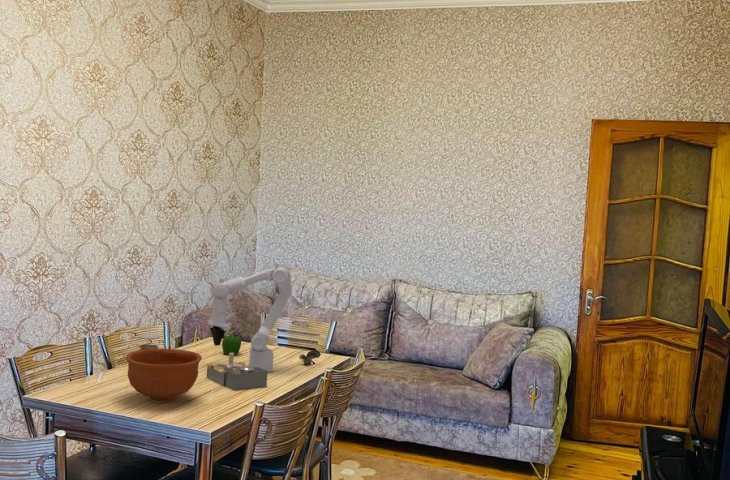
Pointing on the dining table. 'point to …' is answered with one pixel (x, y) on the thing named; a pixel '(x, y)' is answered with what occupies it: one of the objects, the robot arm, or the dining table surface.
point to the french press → (150, 337)
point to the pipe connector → (230, 363)
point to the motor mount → (239, 377)
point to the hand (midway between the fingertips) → (217, 345)
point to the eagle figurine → (310, 356)
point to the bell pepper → (231, 344)
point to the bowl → (162, 372)
